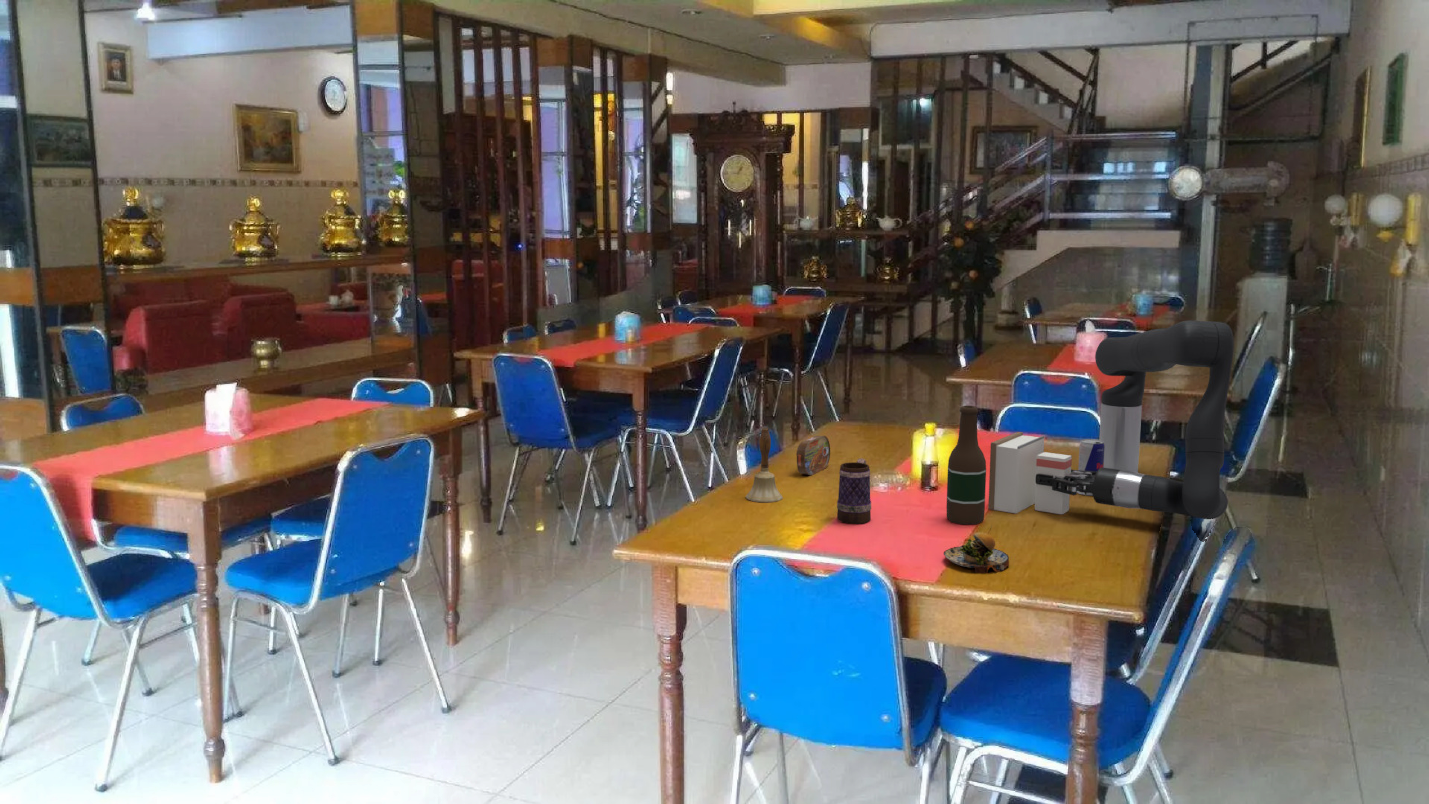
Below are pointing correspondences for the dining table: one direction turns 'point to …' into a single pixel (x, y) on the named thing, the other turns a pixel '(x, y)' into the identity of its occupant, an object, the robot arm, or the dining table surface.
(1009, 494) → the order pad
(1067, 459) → the white juice carton
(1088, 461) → the energy drink
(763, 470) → the hand bell
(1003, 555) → the burger
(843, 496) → the mug
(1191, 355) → the robot arm
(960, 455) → the beer bottle
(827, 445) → the tin
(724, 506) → the dining table surface
